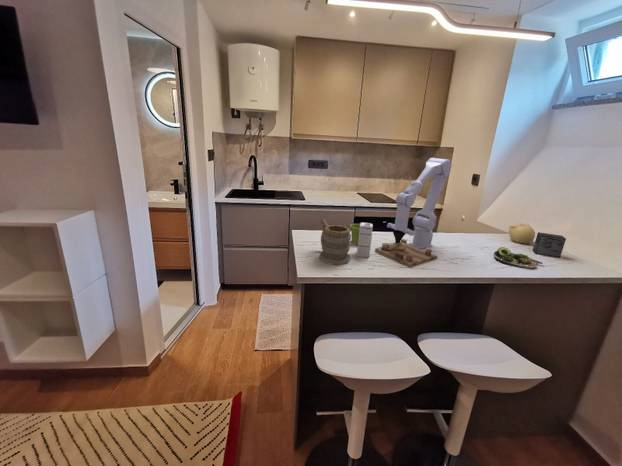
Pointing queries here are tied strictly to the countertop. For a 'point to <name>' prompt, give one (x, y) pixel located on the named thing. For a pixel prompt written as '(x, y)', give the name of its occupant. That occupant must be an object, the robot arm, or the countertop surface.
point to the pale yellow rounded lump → (521, 233)
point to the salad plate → (514, 258)
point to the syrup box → (364, 239)
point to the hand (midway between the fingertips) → (397, 245)
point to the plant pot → (355, 232)
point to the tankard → (335, 244)
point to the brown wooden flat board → (408, 255)
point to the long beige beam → (393, 246)
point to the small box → (549, 245)
